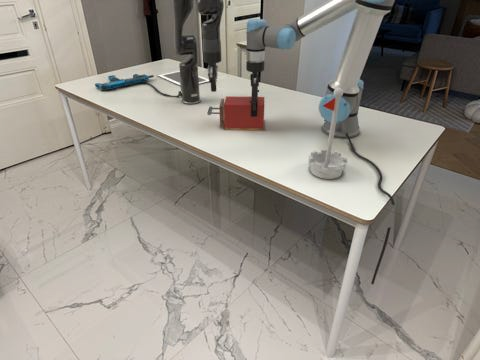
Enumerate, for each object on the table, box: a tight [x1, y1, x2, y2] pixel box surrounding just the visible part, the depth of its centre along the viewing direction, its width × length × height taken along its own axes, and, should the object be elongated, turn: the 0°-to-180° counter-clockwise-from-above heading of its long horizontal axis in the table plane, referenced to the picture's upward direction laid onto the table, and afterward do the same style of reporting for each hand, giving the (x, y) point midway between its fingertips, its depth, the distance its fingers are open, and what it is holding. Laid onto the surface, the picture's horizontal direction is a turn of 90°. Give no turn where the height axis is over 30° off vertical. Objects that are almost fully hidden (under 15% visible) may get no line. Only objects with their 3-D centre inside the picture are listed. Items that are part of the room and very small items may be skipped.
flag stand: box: [307, 88, 348, 180], centre depth 113 cm, size 13×13×30 cm
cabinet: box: [224, 95, 265, 131], centre depth 152 cm, size 17×11×11 cm, turn 87°
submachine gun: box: [94, 73, 155, 91], centre depth 208 cm, size 34×4×25 cm
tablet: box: [157, 70, 210, 87], centre depth 215 cm, size 32×20×1 cm, turn 41°
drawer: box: [207, 98, 225, 128], centre depth 153 cm, size 22×10×10 cm, turn 87°
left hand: (213, 91), depth 148 cm, fingers closed
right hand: (254, 111), depth 152 cm, fingers closed on cabinet, 11 cm apart
